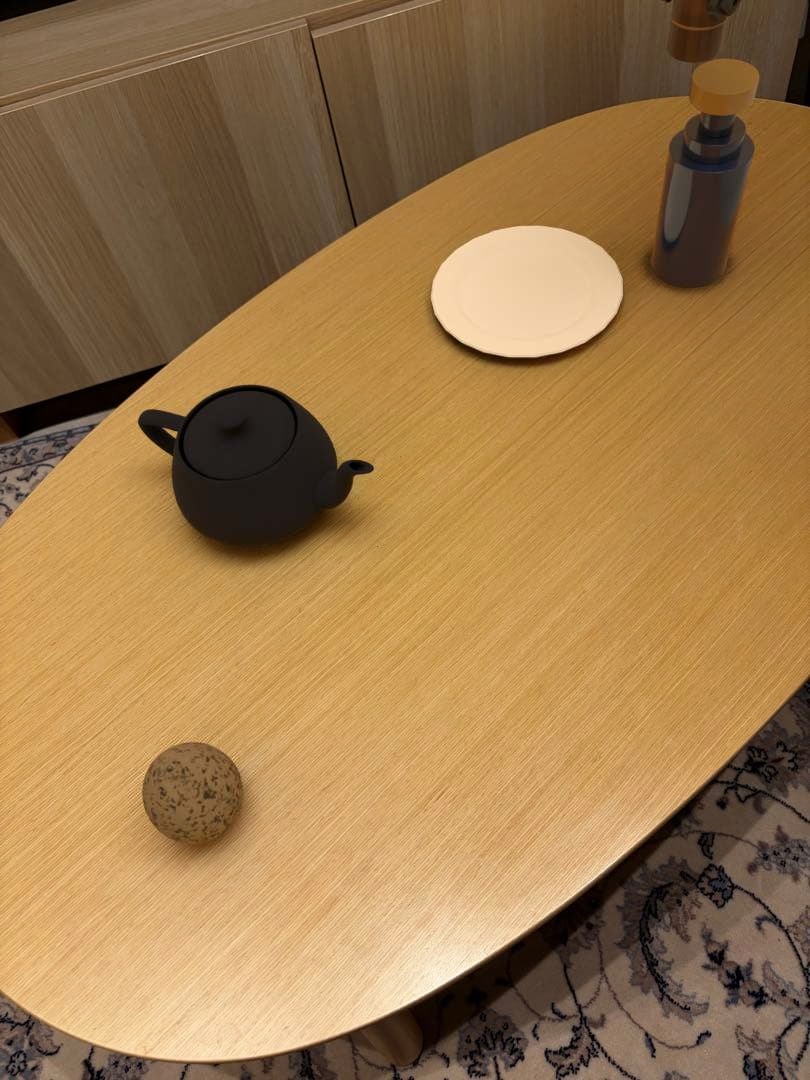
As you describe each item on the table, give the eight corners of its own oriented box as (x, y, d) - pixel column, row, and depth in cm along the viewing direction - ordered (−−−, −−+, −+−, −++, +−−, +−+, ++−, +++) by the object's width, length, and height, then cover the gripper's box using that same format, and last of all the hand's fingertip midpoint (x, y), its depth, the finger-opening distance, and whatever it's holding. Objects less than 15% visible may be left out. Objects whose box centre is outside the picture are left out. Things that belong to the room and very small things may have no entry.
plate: (546, 212, 103) (546, 200, 102) (662, 309, 92) (665, 297, 91) (397, 287, 99) (395, 275, 97) (501, 397, 88) (500, 386, 87)
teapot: (125, 525, 85) (71, 447, 75) (204, 409, 92) (164, 323, 82) (353, 600, 77) (327, 525, 67) (420, 468, 84) (406, 382, 74)
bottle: (739, 254, 96) (788, 65, 78) (703, 297, 93) (746, 111, 75) (674, 230, 99) (707, 43, 81) (637, 271, 96) (663, 86, 78)
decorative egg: (265, 834, 67) (228, 798, 59) (176, 869, 66) (127, 837, 58) (243, 751, 71) (206, 705, 63) (159, 783, 70) (111, 741, 62)
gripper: (725, -296, 62) (597, -41, 69) (910, -264, 55) (749, 14, 62) (754, -227, 68) (634, 1, 75) (925, -190, 61) (776, 56, 68)
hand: (687, 6), depth 68 cm, fingers closed on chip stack, 4 cm apart
